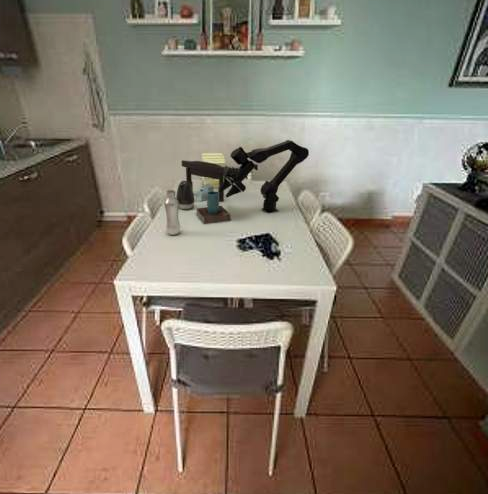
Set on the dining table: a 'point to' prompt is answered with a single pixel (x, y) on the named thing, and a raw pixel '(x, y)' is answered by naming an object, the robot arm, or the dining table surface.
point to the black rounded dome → (185, 195)
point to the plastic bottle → (172, 213)
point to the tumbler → (212, 202)
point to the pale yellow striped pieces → (216, 159)
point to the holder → (213, 215)
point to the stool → (204, 171)
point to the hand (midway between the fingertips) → (222, 194)
